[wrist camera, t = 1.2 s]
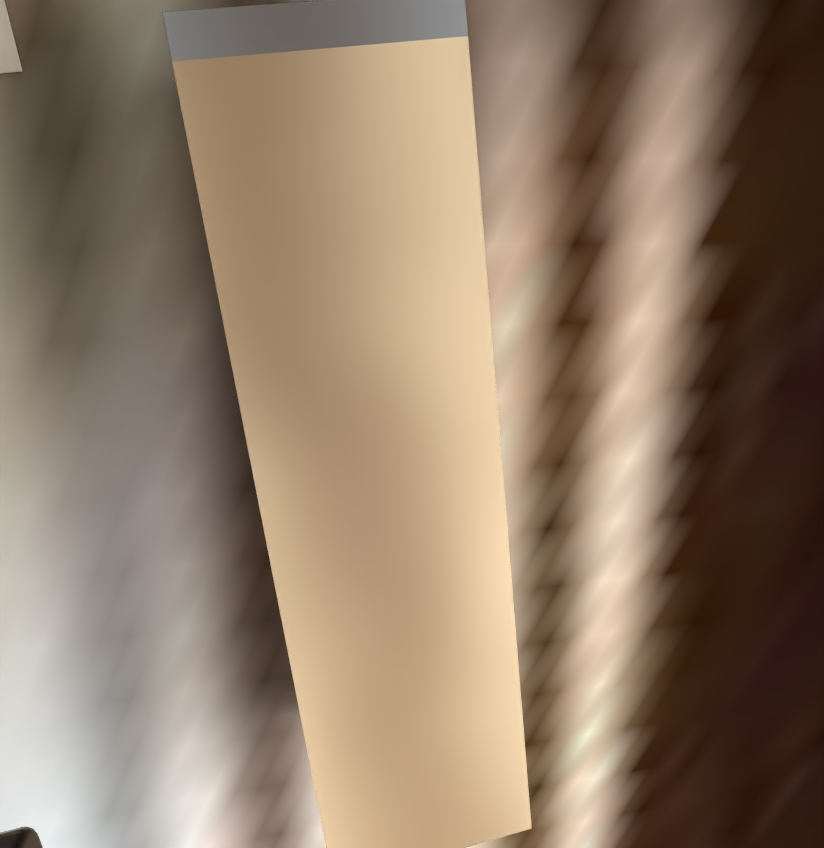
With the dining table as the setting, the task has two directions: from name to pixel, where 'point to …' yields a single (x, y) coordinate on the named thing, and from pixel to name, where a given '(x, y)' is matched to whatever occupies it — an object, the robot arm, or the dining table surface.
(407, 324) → the rail
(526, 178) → the dining table surface
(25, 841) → the robot arm
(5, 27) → the headboard
